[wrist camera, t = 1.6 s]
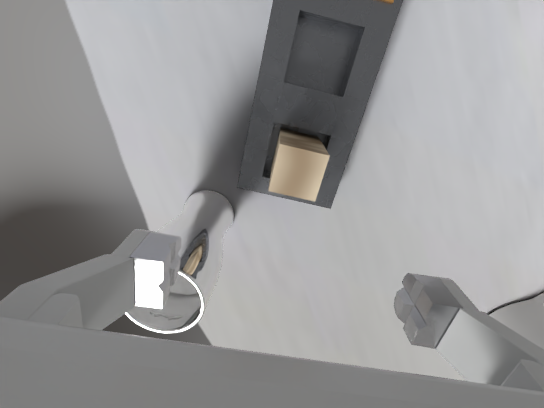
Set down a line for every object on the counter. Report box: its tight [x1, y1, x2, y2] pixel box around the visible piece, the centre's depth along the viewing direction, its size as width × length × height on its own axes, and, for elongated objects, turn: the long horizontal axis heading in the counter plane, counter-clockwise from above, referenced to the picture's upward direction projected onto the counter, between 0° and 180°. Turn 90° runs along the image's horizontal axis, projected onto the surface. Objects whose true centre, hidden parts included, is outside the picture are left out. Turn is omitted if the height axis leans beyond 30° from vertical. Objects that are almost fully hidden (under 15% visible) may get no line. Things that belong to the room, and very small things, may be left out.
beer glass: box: [125, 190, 234, 334], centre depth 28 cm, size 7×7×15 cm
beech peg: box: [268, 128, 330, 202], centre depth 27 cm, size 4×4×8 cm
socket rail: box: [237, 0, 403, 209], centre depth 26 cm, size 27×10×4 cm, turn 167°
